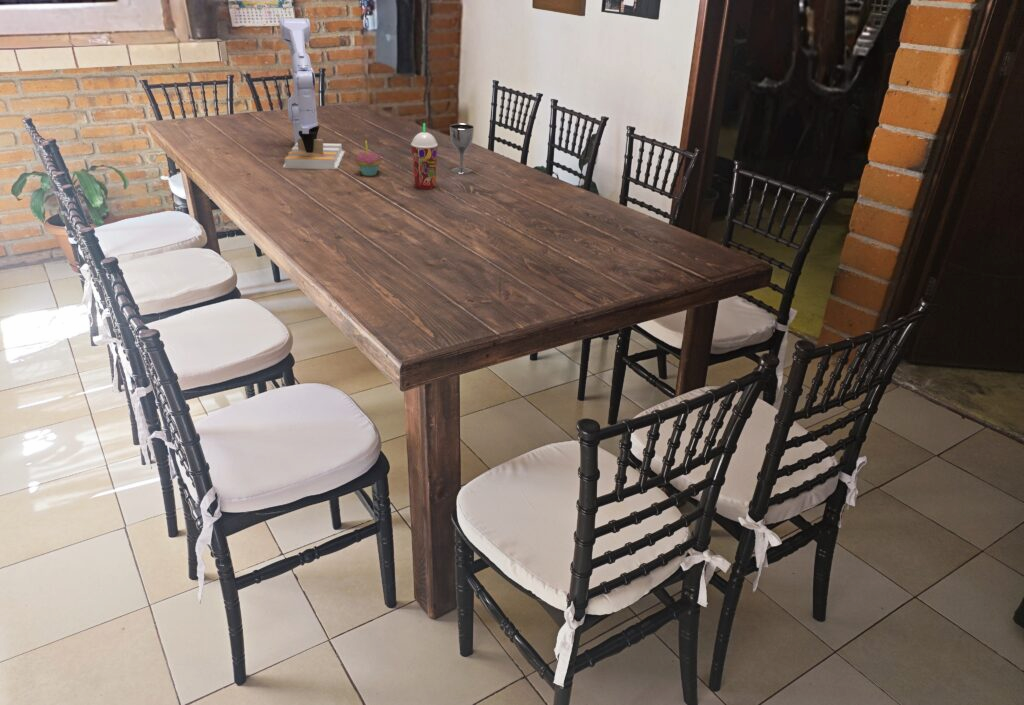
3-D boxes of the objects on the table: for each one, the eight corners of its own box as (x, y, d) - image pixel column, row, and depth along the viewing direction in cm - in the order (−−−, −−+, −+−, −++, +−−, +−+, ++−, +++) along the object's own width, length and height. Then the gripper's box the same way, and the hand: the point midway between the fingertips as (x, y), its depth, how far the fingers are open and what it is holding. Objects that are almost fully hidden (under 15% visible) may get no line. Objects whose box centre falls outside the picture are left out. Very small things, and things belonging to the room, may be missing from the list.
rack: (294, 151, 271) (293, 142, 270) (344, 152, 273) (344, 143, 271) (282, 168, 253) (281, 158, 251) (337, 169, 254) (336, 159, 252)
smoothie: (433, 191, 238) (433, 127, 228) (408, 189, 239) (406, 125, 229) (441, 184, 245) (441, 121, 235) (416, 181, 246) (415, 119, 236)
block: (300, 162, 258) (298, 138, 254) (324, 162, 258) (322, 139, 254) (299, 163, 256) (297, 140, 252) (323, 164, 256) (321, 140, 253)
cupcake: (379, 178, 248) (377, 141, 242) (353, 176, 248) (351, 140, 242) (383, 170, 255) (382, 135, 249) (358, 169, 255) (356, 133, 249)
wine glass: (474, 168, 262) (475, 124, 255) (471, 174, 256) (471, 129, 248) (452, 166, 263) (452, 122, 256) (448, 172, 256) (448, 128, 249)
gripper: (298, 104, 254) (302, 144, 261) (290, 113, 241) (295, 155, 248) (319, 104, 255) (323, 145, 261) (313, 114, 242) (316, 156, 249)
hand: (310, 150), depth 255 cm, fingers open, 5 cm apart
